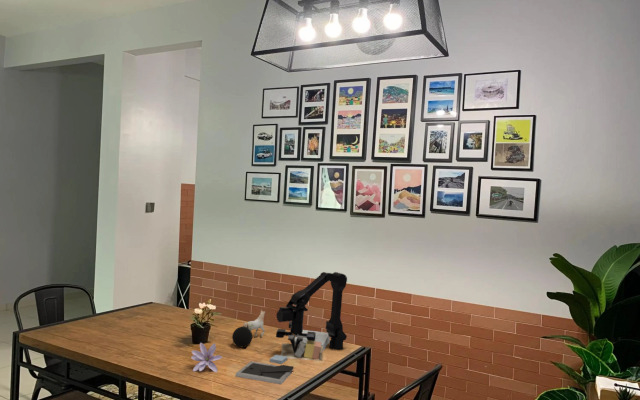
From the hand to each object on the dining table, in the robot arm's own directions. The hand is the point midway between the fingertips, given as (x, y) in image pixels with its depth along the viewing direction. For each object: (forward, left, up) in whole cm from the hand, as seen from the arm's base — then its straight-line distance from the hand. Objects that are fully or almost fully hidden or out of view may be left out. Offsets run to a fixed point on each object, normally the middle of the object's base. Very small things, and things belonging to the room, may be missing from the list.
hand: (294, 352), depth 234 cm
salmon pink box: (-10, 0, -1) cm, 10 cm away
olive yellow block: (-7, 0, -1) cm, 7 cm away
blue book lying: (+7, +9, -3) cm, 11 cm away
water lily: (+38, +22, -3) cm, 44 cm away
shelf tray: (-3, 0, -3) cm, 4 cm away
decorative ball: (+28, -11, -3) cm, 30 cm away
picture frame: (+11, +22, -4) cm, 25 cm away
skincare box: (+1, -20, 0) cm, 20 cm away
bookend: (-2, 0, -1) cm, 2 cm away
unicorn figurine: (+26, -28, -3) cm, 38 cm away
